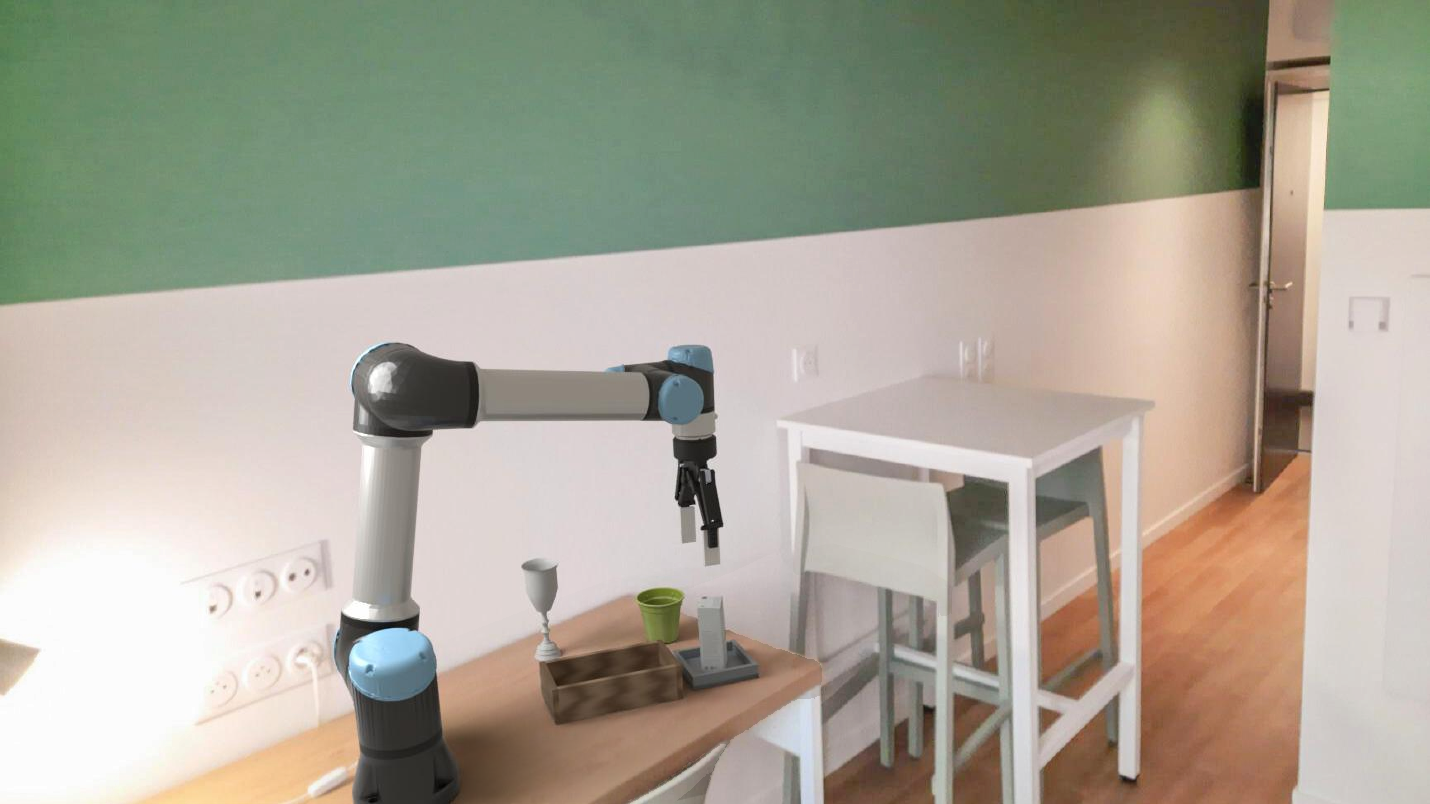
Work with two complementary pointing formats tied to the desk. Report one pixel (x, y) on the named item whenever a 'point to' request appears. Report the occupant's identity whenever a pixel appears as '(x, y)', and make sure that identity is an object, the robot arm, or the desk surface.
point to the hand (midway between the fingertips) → (699, 553)
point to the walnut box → (610, 681)
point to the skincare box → (712, 633)
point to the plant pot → (661, 613)
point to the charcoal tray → (736, 670)
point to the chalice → (542, 599)
